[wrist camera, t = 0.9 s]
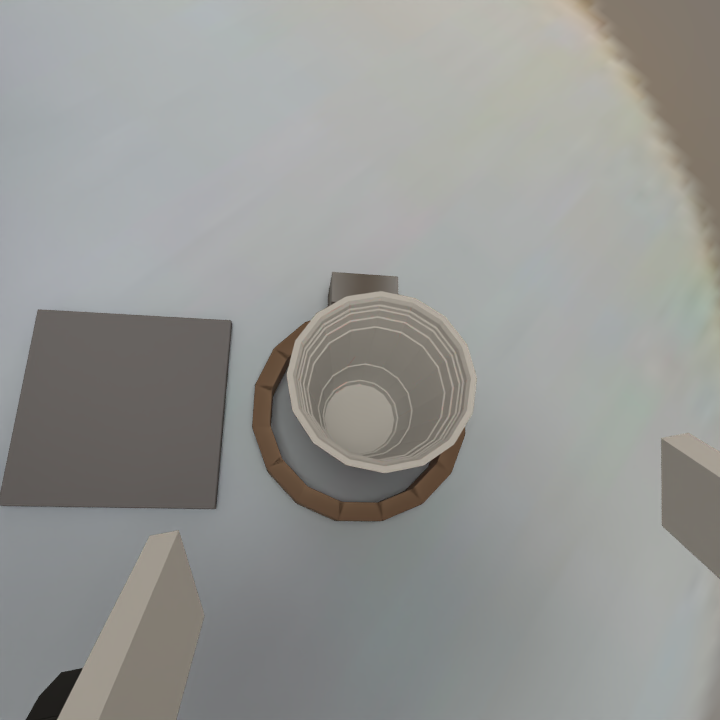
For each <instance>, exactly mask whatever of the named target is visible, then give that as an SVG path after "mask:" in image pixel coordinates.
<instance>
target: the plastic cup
mask: <svg viewBox="0 0 720 720" xmlns="http://www.w3.org/2000/svg"><path fill="white" fill-rule="evenodd" d="M287 381H288V387H289V393H290V399H291V405H292V411H293V412H294V414H295V415H296V417H297V418H298V420H299V422H300V423H301V425H302V426H303V428H304V429H305V431H306V432H307V434H308V435H309V437H310V439H311V440H312V442H313V443H314V444H316V445H317V446H319V447H320V448H322V449H323V450H325V451H326V452H327V453H329V454H330V455H332V456H333V457H335V458H336V459H338V460H339V461H341V462H342V463H344V464H345V465H348V466H353V467H357V468H362V469H367V470H372V471H377V472H382V473H389V472H394V471H399V470H404V469H409V468H414V467H419V466H424V465H425V464H427V463H428V462H429V461H431V460H432V459H434V458H435V457H437V456H438V455H439V454H441V453H442V452H444V451H445V450H447V449H448V448H450V447H451V446H452V445H454V444H455V442H456V440H457V439H458V437H459V435H460V434H461V432H462V430H463V429H464V427H465V425H466V424H467V422H468V420H469V419H470V417H471V415H472V414H473V407H474V399H475V390H476V382H477V377H476V373H475V370H474V366H473V363H472V360H471V356H470V353H469V349H468V346H467V344H466V342H465V341H464V340H463V339H462V337H461V336H460V335H459V334H458V332H457V331H456V330H455V328H454V327H453V326H452V325H451V323H450V322H449V321H448V319H447V318H446V317H445V316H443V315H442V314H440V313H439V312H437V311H435V310H434V309H432V308H430V307H429V306H427V305H426V304H424V303H422V302H421V301H419V300H417V299H416V298H412V297H407V296H402V295H397V294H392V293H388V292H383V291H379V292H372V293H365V294H358V295H352V296H346V297H344V298H343V299H341V300H339V301H337V302H336V303H334V304H332V305H330V306H329V307H327V308H325V309H323V310H322V311H320V312H318V313H316V315H315V316H314V317H313V319H312V320H311V321H310V322H309V324H308V325H307V326H306V327H305V329H304V330H303V331H302V333H301V334H300V335H299V336H298V338H297V339H296V340H295V344H294V347H293V351H292V355H291V359H290V363H289V367H288V371H287Z"/></svg>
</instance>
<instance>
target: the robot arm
mask: <svg viewBox="0 0 720 720" xmlns="http://www.w3.org/2000/svg"><path fill="white" fill-rule="evenodd" d="M661 481H662V526H663V527H664V528H665V529H666V530H667V531H668V532H669V533H670V534H671V535H672V536H674V537H675V538H676V539H677V540H678V541H679V542H680V543H681V544H682V545H683V546H684V547H685V548H687V549H688V550H689V551H690V552H691V553H692V554H693V555H694V556H695V557H696V558H697V559H699V560H700V561H701V562H702V563H703V564H704V565H705V566H706V567H707V568H708V569H709V570H711V571H712V572H713V573H714V574H715V575H716V576H717V577H718V578H719V579H720V452H719V451H718V450H716V449H714V448H713V447H711V446H709V445H708V444H706V443H704V442H703V441H701V440H699V439H698V438H696V437H694V436H693V435H691V434H689V433H686V434H680V435H675V436H670V437H665V438H661ZM203 619H204V612H203V609H202V605H201V602H200V599H199V596H198V592H197V589H196V586H195V582H194V579H193V576H192V572H191V569H190V566H189V563H188V559H187V556H186V553H185V549H184V546H183V543H182V539H181V536H180V533H179V530H178V531H173V532H167V533H162V534H157V535H152V536H149V538H148V540H147V542H146V544H145V546H144V548H143V550H142V552H141V554H140V556H139V558H138V560H137V562H136V564H135V566H134V568H133V570H132V572H131V574H130V576H129V578H128V580H127V582H126V584H125V586H124V588H123V590H122V592H121V594H120V596H119V598H118V600H117V602H116V604H115V606H114V608H113V610H112V612H111V614H110V616H109V618H108V620H107V622H106V624H105V626H104V628H103V630H102V631H101V633H100V635H99V637H98V639H97V641H96V643H95V645H94V647H93V649H92V651H91V653H90V655H89V657H88V659H87V661H86V663H85V665H84V667H83V668H81V669H76V670H71V671H66V672H61V673H60V674H59V676H58V677H57V678H56V679H55V680H54V681H53V682H52V683H51V684H50V685H49V686H48V687H47V688H46V689H45V690H44V691H43V693H42V694H41V695H40V696H39V697H38V699H37V701H36V703H35V704H34V706H33V708H32V710H31V711H30V713H29V715H28V717H27V718H26V720H176V719H177V715H178V711H179V707H180V704H181V700H182V696H183V693H184V689H185V685H186V682H187V678H188V674H189V671H190V667H191V663H192V660H193V656H194V652H195V649H196V645H197V641H198V638H199V634H200V630H201V627H202V623H203Z"/></svg>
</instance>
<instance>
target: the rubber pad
mask: <svg viewBox="0 0 720 720" xmlns="http://www.w3.org/2000/svg"><path fill="white" fill-rule="evenodd" d="M231 329H232V322H231V320H214V319H196V318H179V317H161V316H144V315H126V314H108V313H91V312H73V311H55V310H38V311H37V316H36V321H35V326H34V331H33V336H32V341H31V345H30V350H29V355H28V360H27V365H26V370H25V375H24V380H23V385H22V389H21V394H20V399H19V404H18V409H17V414H16V419H15V424H14V429H13V433H12V438H11V443H10V448H9V453H8V458H7V463H6V468H5V473H4V477H3V482H2V487H1V492H0V506H50V507H118V508H187V509H216V502H217V490H218V479H219V467H220V456H221V444H222V433H223V421H224V410H225V398H226V387H227V375H228V364H229V352H230V341H231Z"/></svg>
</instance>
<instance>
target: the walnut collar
mask: <svg viewBox="0 0 720 720" xmlns="http://www.w3.org/2000/svg"><path fill="white" fill-rule="evenodd" d="M379 291H383V292H388V293H392V294H397V295H398V277H396V276H381V275H367V274H352V273H338V272H332V277H331V282H330V288H329V293H328V307H329V306H330V305H332V304H334V303H336V302H337V301H339V300H341V299H343V298H344V297H346V296H352V295H358V294H365V293H372V292H379ZM309 322H310V321H308V322H305V323H304V324H302V325H301V326H300V327H299V328H298V329H296V330H295V331H294V332H293V333H292V334H290V335H289V336H288V337H287V338H286V339H284V340H283V341H282V342H281V343H280V344H278V345H277V346H276V347H275V348H274V349H273V351H272V353H271V355H270V357H269V359H268V361H267V363H266V365H265V367H264V369H263V371H262V373H261V375H260V376H259V378H258V380H257V382H256V384H255V395H254V409H253V424H252V427H253V431H254V434H255V437H256V440H257V443H258V445H259V448H260V451H261V454H262V457H263V460H264V463H265V466H266V468H267V471H268V473H269V474H270V475H271V476H272V477H273V478H274V479H275V481H276V482H277V483H278V484H279V485H280V486H281V487H282V488H283V489H284V490H285V492H286V493H287V494H288V495H289V496H290V497H291V498H292V499H293V500H294V501H295V502H296V503H297V504H299V505H301V506H303V507H306V508H308V509H310V510H312V511H314V512H317V513H319V514H321V515H323V516H326V517H328V518H330V519H332V520H334V521H383V520H386V519H388V518H390V517H393V516H395V515H397V514H400V513H402V512H404V511H407V510H409V509H411V508H414V507H416V506H418V505H421V504H423V503H424V502H425V501H426V499H427V498H428V497H429V496H430V495H431V494H432V493H433V492H434V491H435V490H436V489H437V488H438V487H439V486H440V485H441V483H442V482H443V481H444V480H445V479H446V478H447V477H448V476H449V475H450V474H451V472H452V470H453V467H454V464H455V461H456V459H457V456H458V453H459V450H460V447H461V445H462V442H463V439H464V436H465V427H464V429H463V430H462V432H461V434H460V435H459V437H458V439H457V440H456V442H455V444H454V445H452V446H451V447H450V448H448V449H447V450H445V451H444V452H442V453H441V454H439V455H438V456H437V457H435V458H434V459H432V460H431V461H430V464H429V467H428V468H427V469H426V470H425V471H424V472H423V473H422V474H421V475H420V476H419V477H418V478H417V479H416V480H415V481H414V482H413V483H412V484H411V485H410V487H409V488H408V489H407V490H406V491H404V492H402V493H399V494H397V495H394V496H392V497H390V498H387V499H385V500H382V501H380V502H378V503H370V502H341V501H339V500H336V499H334V498H332V497H330V496H327V495H325V494H323V493H321V492H319V491H316V490H314V489H312V488H310V487H308V486H307V485H306V484H305V483H304V482H303V481H302V480H301V479H300V478H299V477H298V476H297V474H296V473H295V472H294V471H293V470H292V469H291V468H290V467H289V466H288V465H287V464H286V463H285V461H284V460H283V459H282V457H281V454H280V451H279V449H278V446H277V443H276V440H275V437H274V435H273V432H272V429H271V417H272V401H273V395H274V393H275V391H276V389H277V387H278V385H279V383H280V381H281V379H282V377H283V375H284V373H285V371H286V369H287V367H288V366H289V363H290V359H291V355H292V351H293V347H294V344H295V340H296V339H297V338H298V336H299V335H300V334H301V333H302V331H303V330H304V329H305V327H306V326H307V325H308V324H309Z"/></svg>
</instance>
